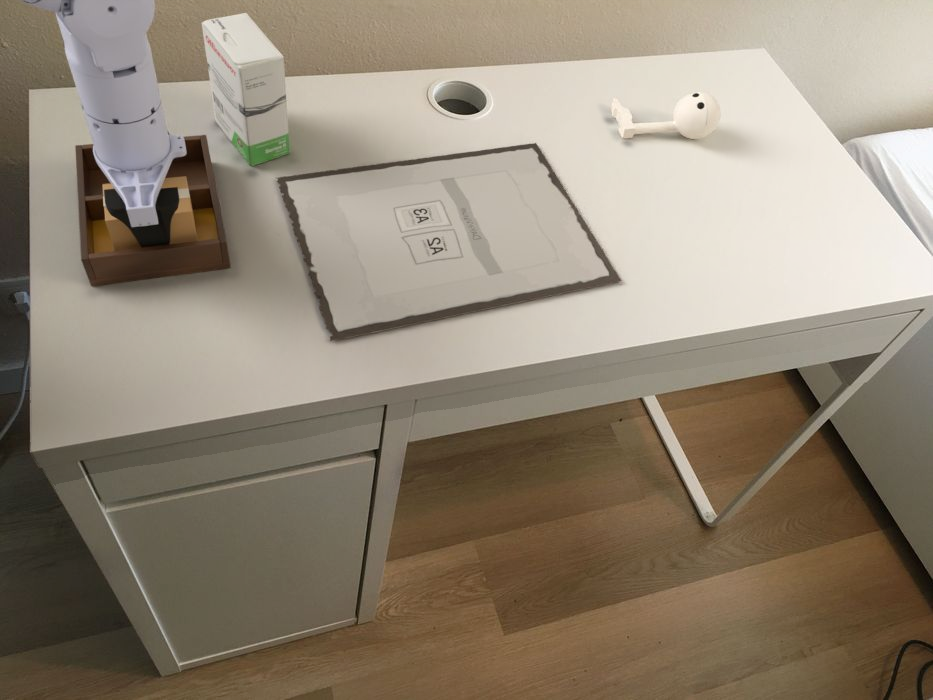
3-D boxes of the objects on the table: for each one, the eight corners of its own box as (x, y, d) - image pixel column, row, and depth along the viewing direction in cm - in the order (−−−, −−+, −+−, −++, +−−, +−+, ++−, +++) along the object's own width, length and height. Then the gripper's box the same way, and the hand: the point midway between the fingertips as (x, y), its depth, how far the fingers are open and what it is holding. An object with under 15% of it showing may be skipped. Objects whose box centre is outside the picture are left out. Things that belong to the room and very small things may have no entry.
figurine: (734, 109, 88) (638, 115, 86) (718, 146, 93) (626, 154, 91) (708, 67, 93) (615, 73, 91) (694, 105, 97) (605, 111, 95)
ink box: (292, 154, 81) (287, 56, 72) (249, 168, 79) (238, 68, 70) (255, 108, 85) (246, 8, 76) (213, 120, 83) (198, 19, 73)
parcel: (118, 261, 68) (104, 220, 64) (114, 225, 71) (101, 183, 67) (199, 251, 70) (192, 210, 66) (194, 216, 73) (186, 175, 69)
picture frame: (330, 342, 68) (621, 282, 77) (330, 340, 67) (622, 280, 77) (275, 178, 79) (535, 143, 88) (275, 176, 78) (536, 141, 88)
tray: (91, 286, 68) (80, 259, 65) (84, 173, 75) (74, 145, 73) (230, 268, 71) (226, 241, 68) (210, 162, 79) (206, 134, 76)
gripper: (186, 158, 56) (209, 280, 67) (167, 43, 64) (191, 169, 74) (81, 167, 54) (123, 292, 65) (75, 47, 61) (113, 177, 72)
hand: (154, 227), depth 69 cm, fingers closed on parcel, 4 cm apart
